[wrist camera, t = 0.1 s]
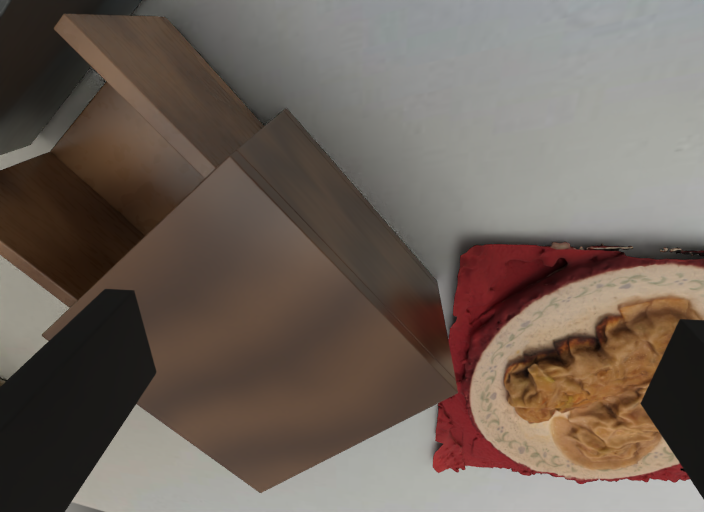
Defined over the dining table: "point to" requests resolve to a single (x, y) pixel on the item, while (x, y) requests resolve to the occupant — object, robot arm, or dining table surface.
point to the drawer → (102, 134)
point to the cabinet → (281, 313)
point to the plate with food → (563, 360)
